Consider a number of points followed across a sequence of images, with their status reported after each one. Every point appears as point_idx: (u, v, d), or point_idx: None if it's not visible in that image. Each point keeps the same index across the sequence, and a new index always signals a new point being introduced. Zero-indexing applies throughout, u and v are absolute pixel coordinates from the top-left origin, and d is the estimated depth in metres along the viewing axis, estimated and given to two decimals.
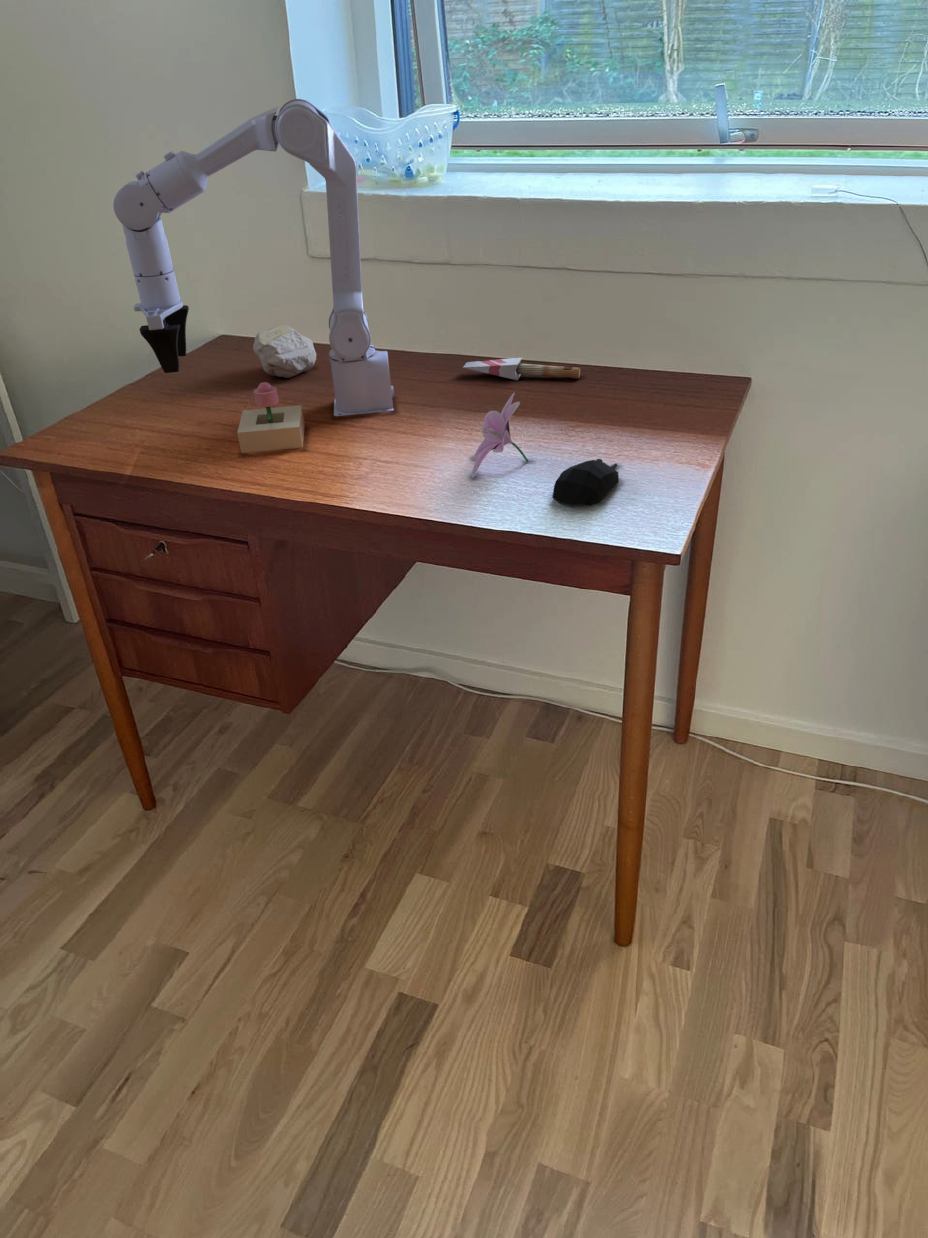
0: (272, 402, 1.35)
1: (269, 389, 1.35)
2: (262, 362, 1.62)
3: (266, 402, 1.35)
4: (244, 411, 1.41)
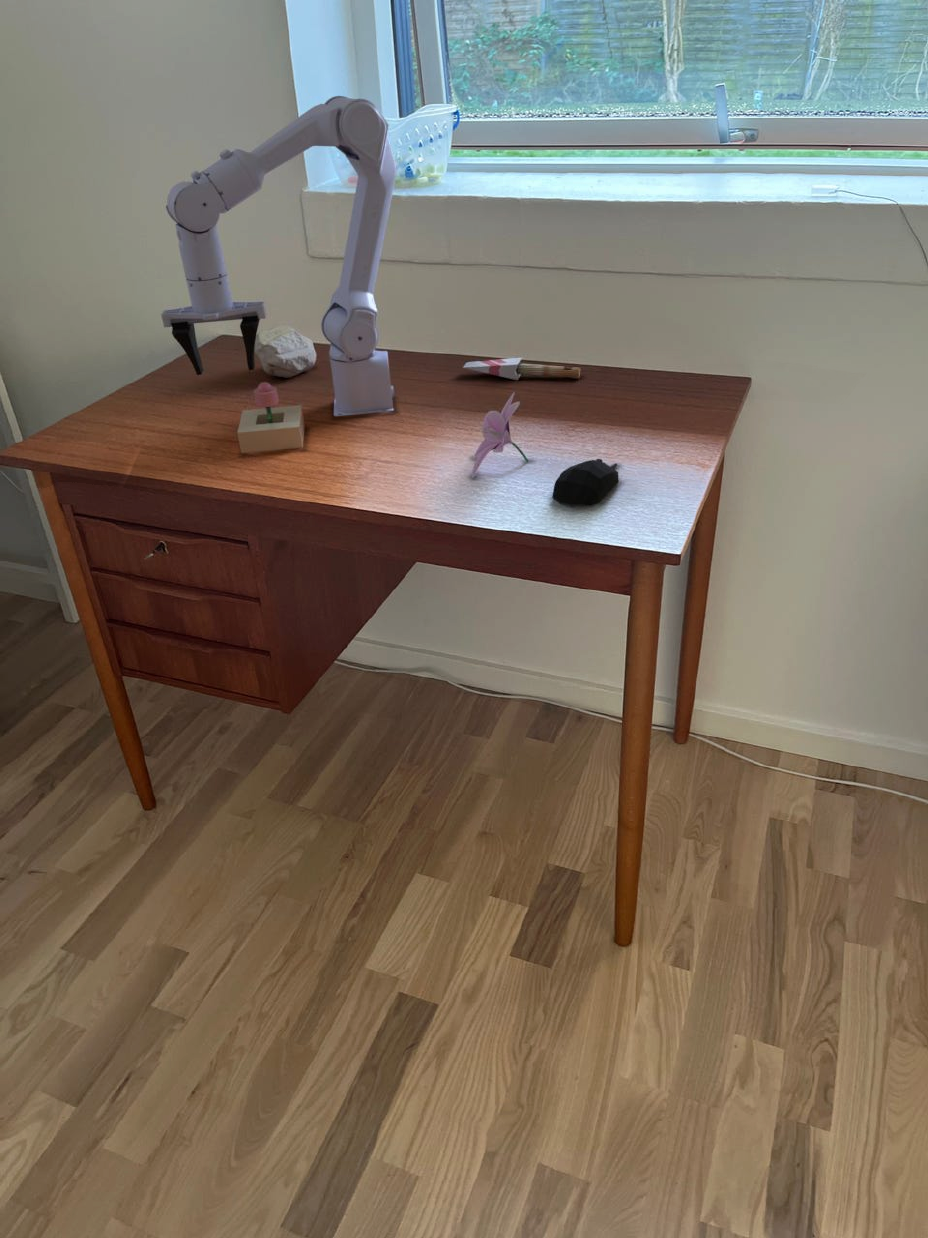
0: (272, 402, 1.35)
1: (269, 389, 1.35)
2: (262, 362, 1.62)
3: (266, 402, 1.35)
4: (244, 411, 1.41)
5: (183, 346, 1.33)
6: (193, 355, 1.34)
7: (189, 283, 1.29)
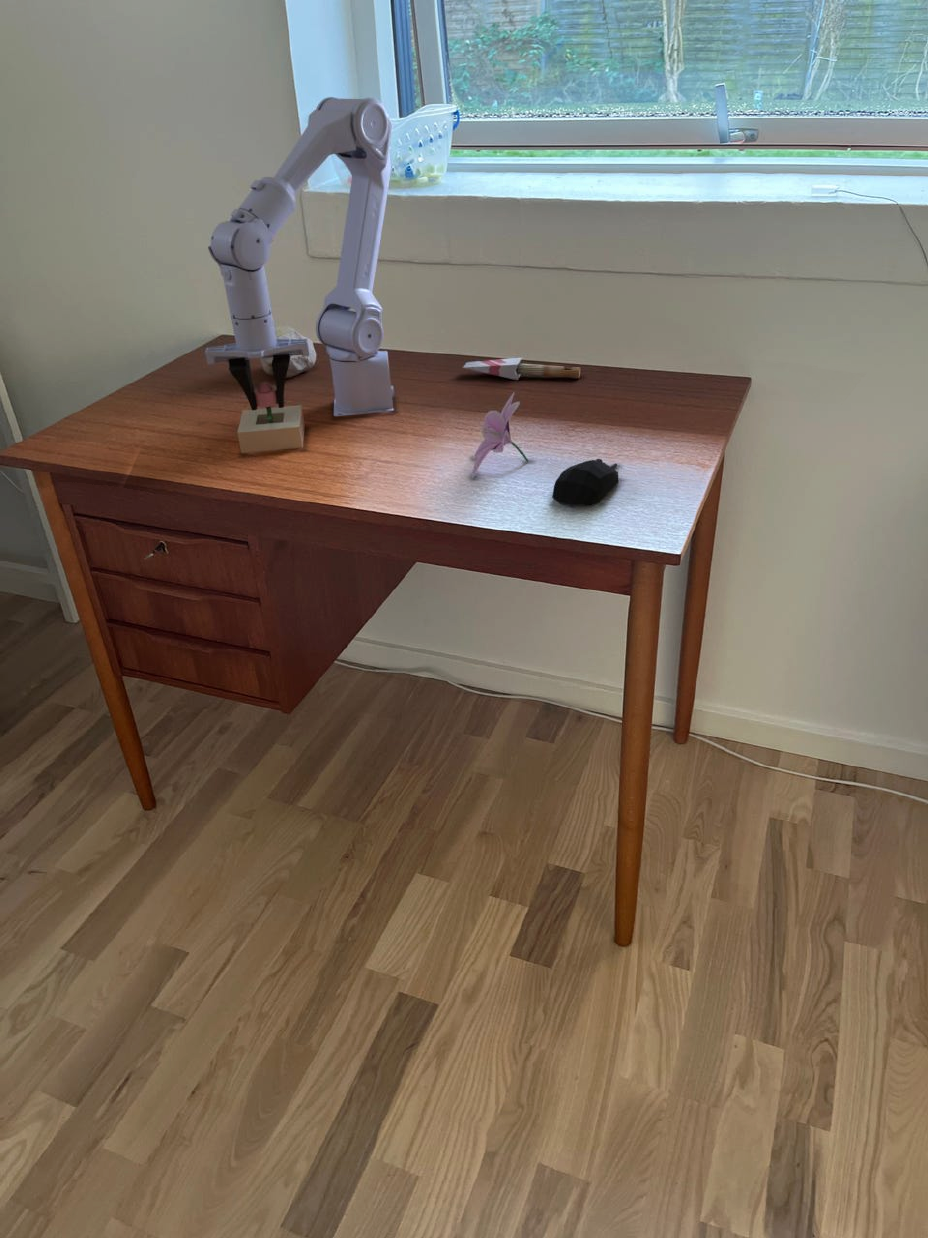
0: (272, 402, 1.35)
1: (269, 389, 1.35)
2: (262, 362, 1.62)
3: (266, 402, 1.35)
4: (244, 411, 1.41)
5: (240, 382, 1.33)
6: (249, 391, 1.34)
7: (234, 321, 1.28)
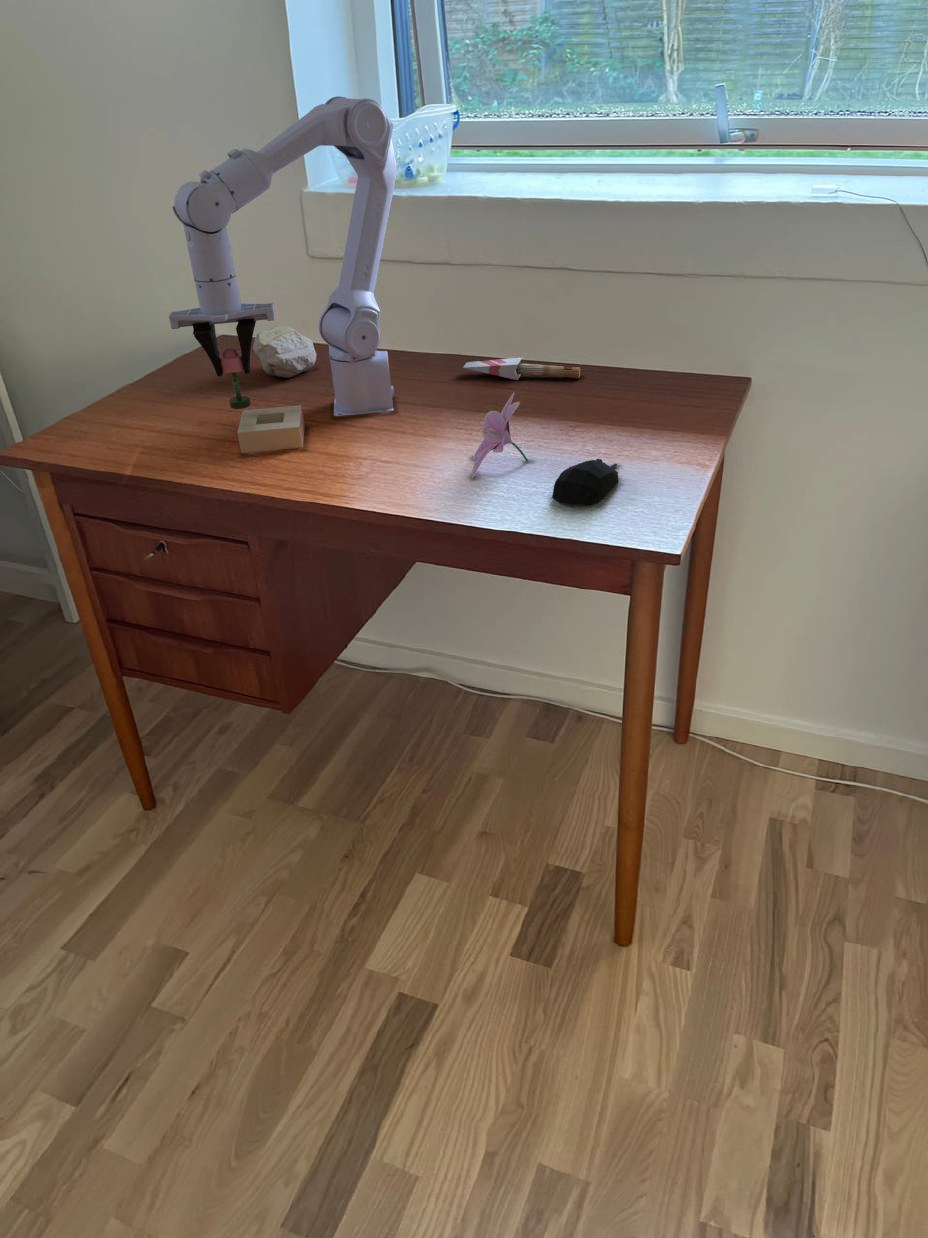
0: (238, 368, 1.34)
1: (235, 354, 1.34)
2: (262, 362, 1.62)
3: (232, 368, 1.34)
4: (244, 411, 1.41)
5: (204, 347, 1.32)
6: (214, 356, 1.33)
7: (198, 284, 1.27)
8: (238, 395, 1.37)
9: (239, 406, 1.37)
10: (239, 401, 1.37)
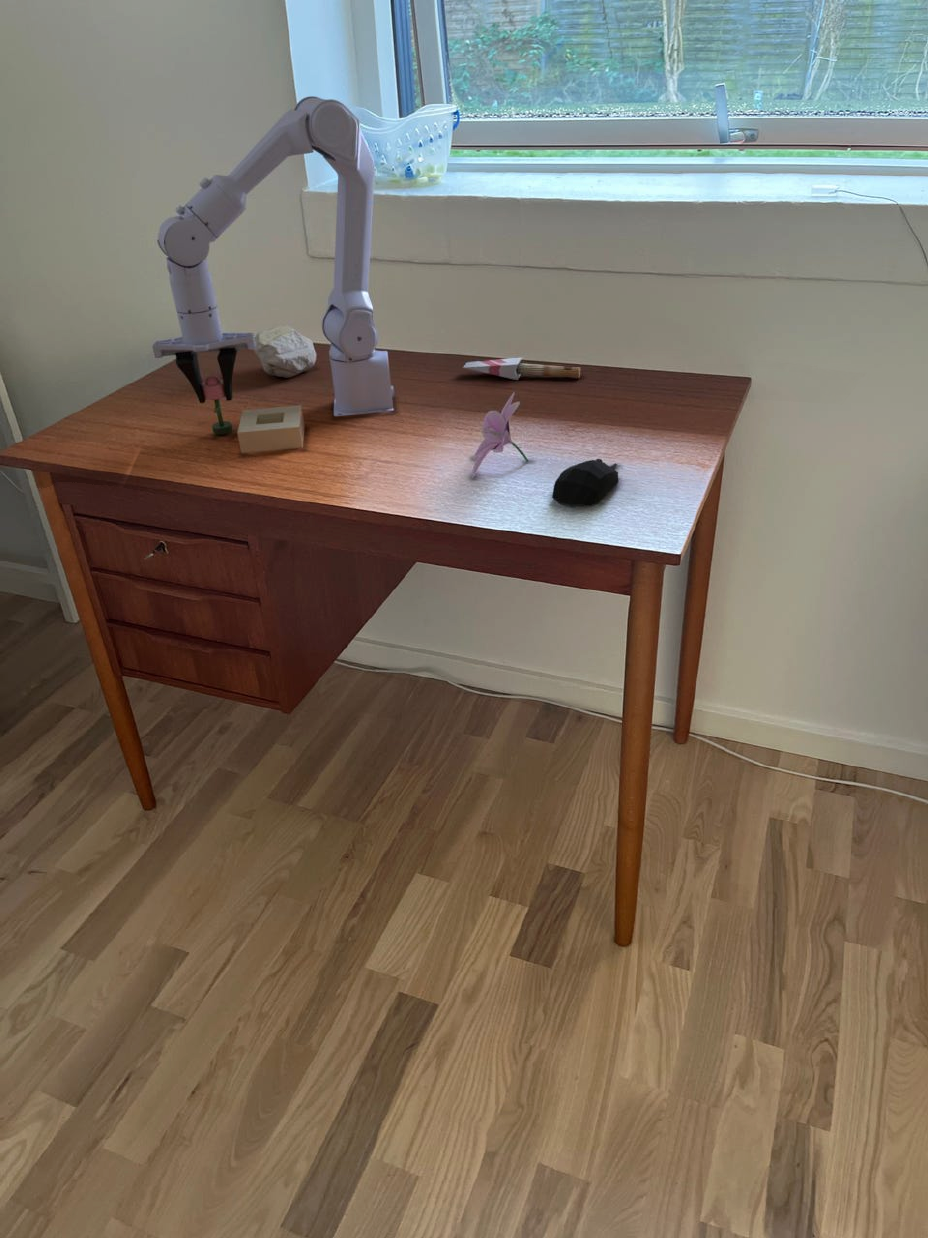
0: (220, 395, 1.38)
1: (216, 382, 1.37)
2: (262, 362, 1.62)
3: (213, 395, 1.38)
4: (244, 411, 1.41)
5: (187, 375, 1.35)
6: (196, 384, 1.37)
7: (179, 315, 1.31)
8: (220, 421, 1.41)
9: (221, 432, 1.41)
10: (221, 427, 1.41)
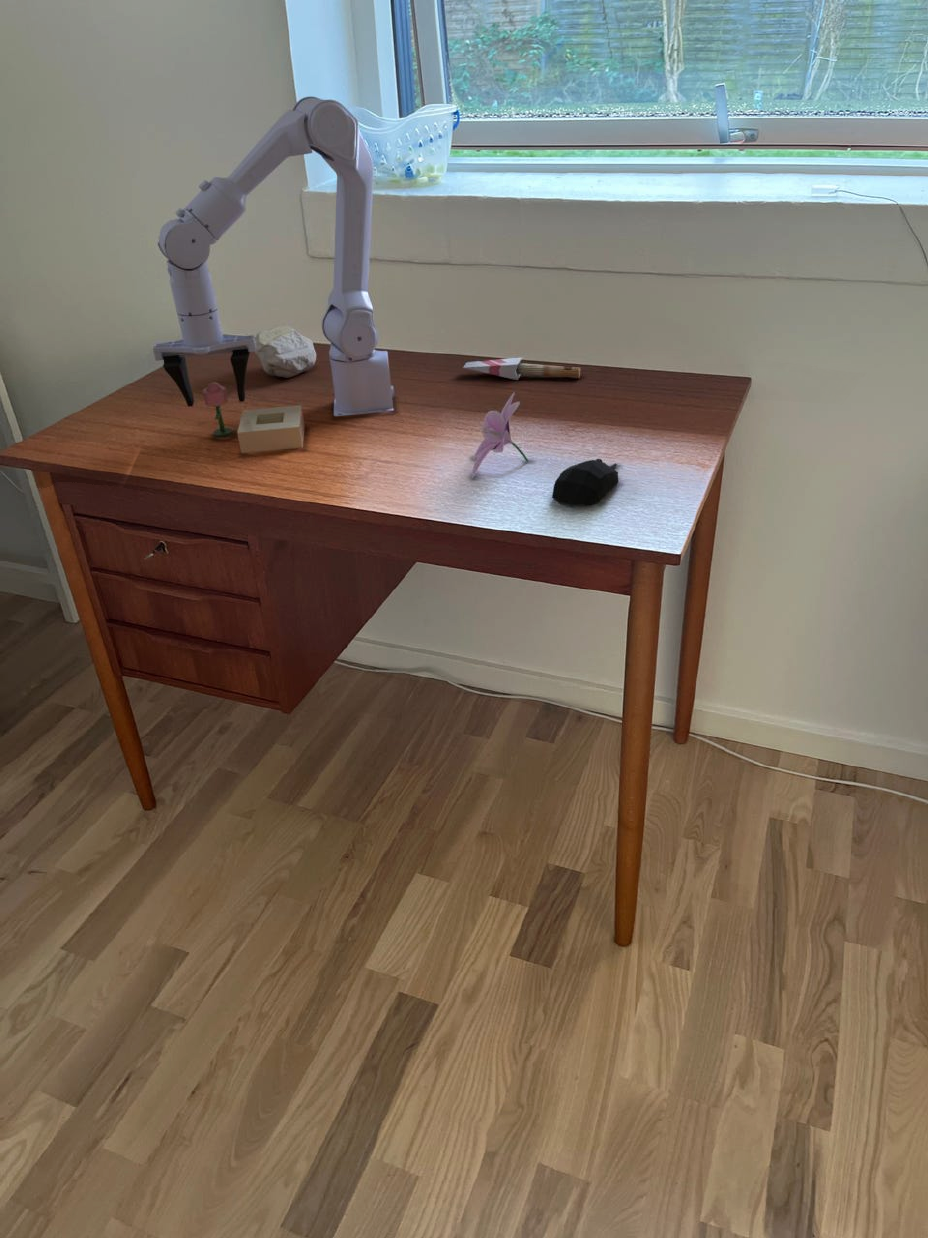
0: (221, 402, 1.38)
1: (218, 389, 1.38)
2: (262, 362, 1.62)
3: (215, 402, 1.38)
4: (244, 411, 1.41)
5: (174, 379, 1.35)
6: (184, 387, 1.37)
7: (180, 318, 1.31)
8: (221, 427, 1.42)
9: None
10: (223, 433, 1.41)
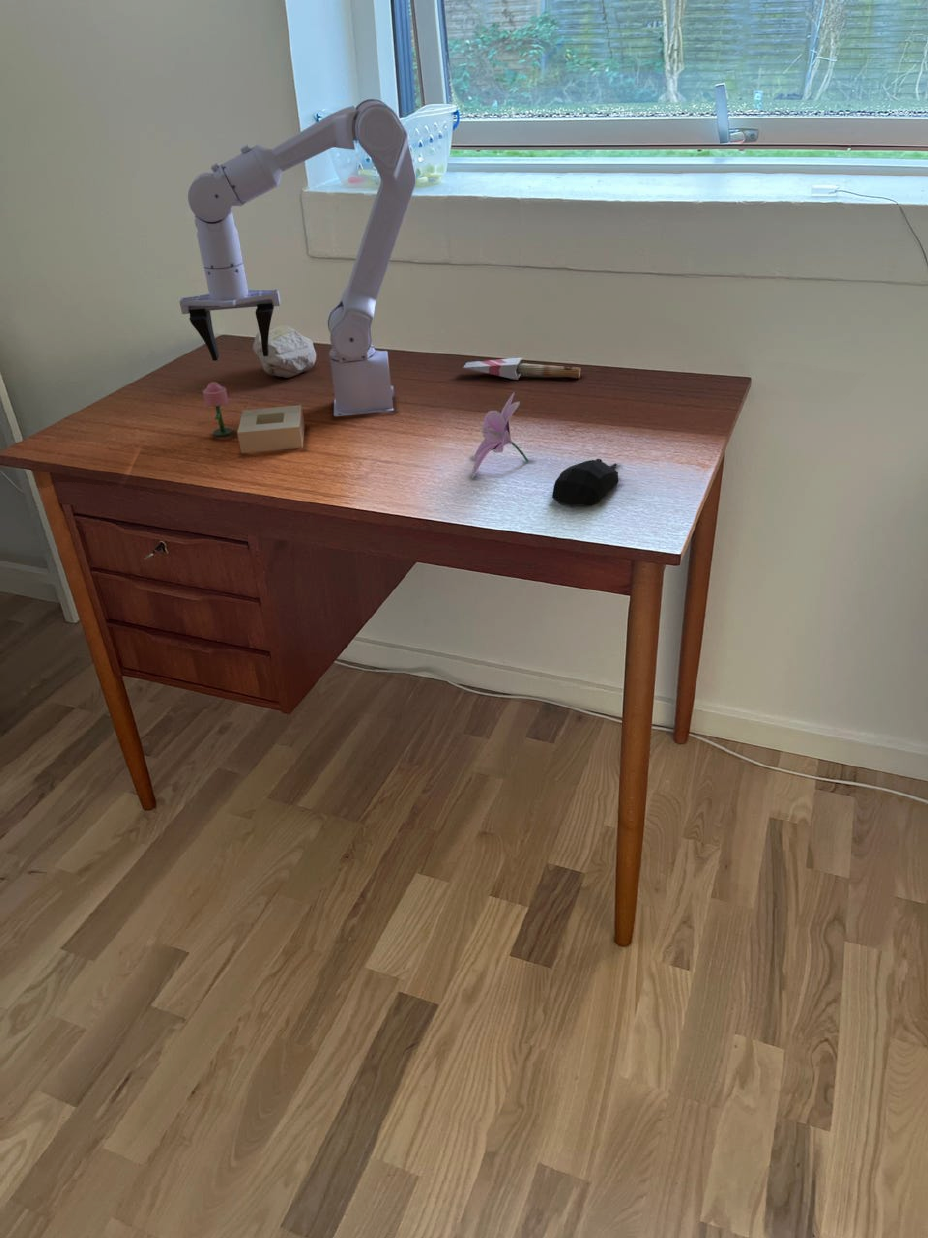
0: (221, 402, 1.38)
1: (218, 389, 1.38)
2: (262, 362, 1.62)
3: (215, 402, 1.38)
4: (244, 411, 1.41)
5: (200, 332, 1.38)
6: (210, 341, 1.39)
7: (207, 271, 1.34)
8: (221, 427, 1.42)
9: None
10: (223, 433, 1.41)
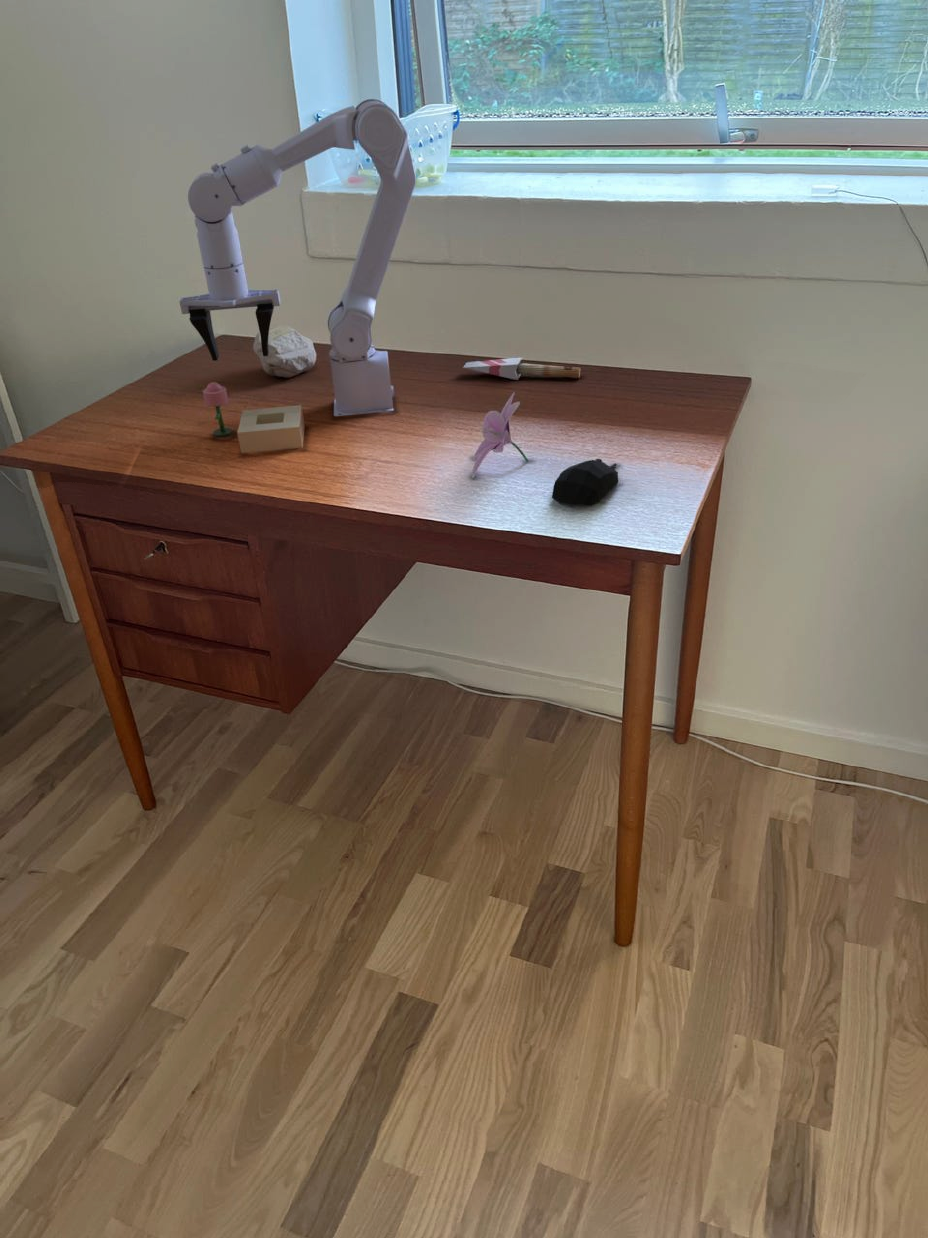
0: (221, 402, 1.38)
1: (218, 389, 1.38)
2: (262, 362, 1.62)
3: (215, 402, 1.38)
4: (244, 411, 1.41)
5: (200, 332, 1.38)
6: (210, 341, 1.39)
7: (207, 271, 1.34)
8: (221, 427, 1.42)
9: None
10: (223, 433, 1.41)
